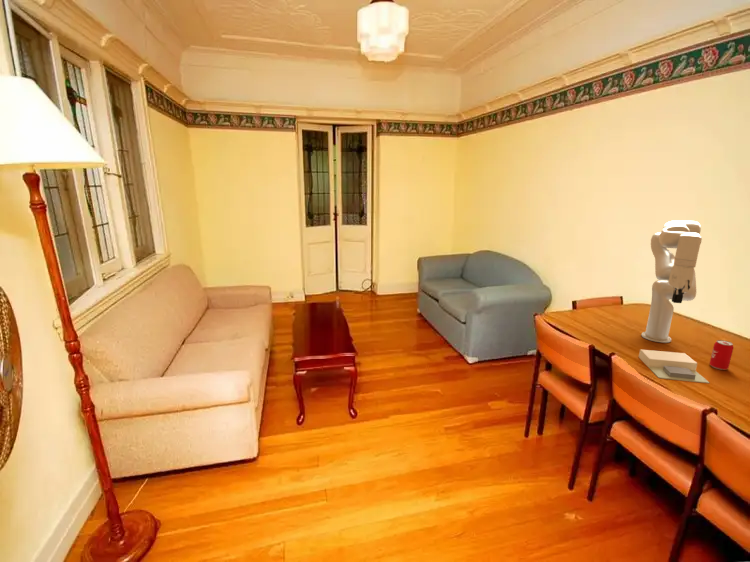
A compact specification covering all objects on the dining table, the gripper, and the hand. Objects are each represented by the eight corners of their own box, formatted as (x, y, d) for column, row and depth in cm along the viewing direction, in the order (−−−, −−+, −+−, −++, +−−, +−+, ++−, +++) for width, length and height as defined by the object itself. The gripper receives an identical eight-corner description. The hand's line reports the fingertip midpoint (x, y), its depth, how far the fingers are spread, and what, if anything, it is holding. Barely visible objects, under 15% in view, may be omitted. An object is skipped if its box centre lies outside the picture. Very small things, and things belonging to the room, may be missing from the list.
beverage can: (718, 363, 167) (724, 339, 164) (731, 370, 161) (738, 345, 158) (705, 364, 167) (711, 339, 164) (718, 370, 161) (724, 345, 158)
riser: (638, 357, 174) (640, 349, 173) (683, 361, 170) (685, 353, 169) (648, 367, 165) (649, 358, 164) (695, 371, 161) (697, 363, 160)
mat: (648, 367, 165) (648, 366, 164) (696, 372, 160) (696, 371, 160) (658, 378, 156) (658, 377, 155) (709, 383, 151) (709, 382, 151)
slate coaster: (670, 372, 155) (669, 376, 156) (695, 375, 153) (694, 379, 153) (663, 365, 161) (662, 370, 161) (688, 368, 159) (687, 372, 159)
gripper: (666, 259, 171) (659, 297, 175) (683, 265, 157) (675, 307, 161) (685, 259, 169) (677, 298, 173) (704, 266, 155) (695, 308, 159)
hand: (676, 302), depth 167 cm, fingers closed
